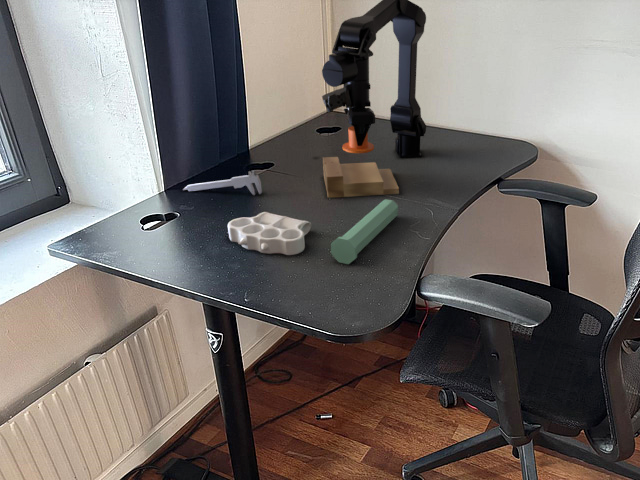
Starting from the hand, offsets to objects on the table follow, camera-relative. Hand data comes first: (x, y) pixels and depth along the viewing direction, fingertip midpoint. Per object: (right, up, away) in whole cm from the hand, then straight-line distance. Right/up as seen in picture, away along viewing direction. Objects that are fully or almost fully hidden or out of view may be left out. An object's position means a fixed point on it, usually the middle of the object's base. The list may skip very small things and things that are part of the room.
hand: (358, 142), depth 155 cm
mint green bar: (+4, -26, -20) cm, 34 cm away
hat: (0, -1, +1) cm, 2 cm away
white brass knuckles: (-17, -27, -22) cm, 39 cm away
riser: (0, -10, +5) cm, 11 cm away
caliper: (-34, -13, 0) cm, 37 cm away
